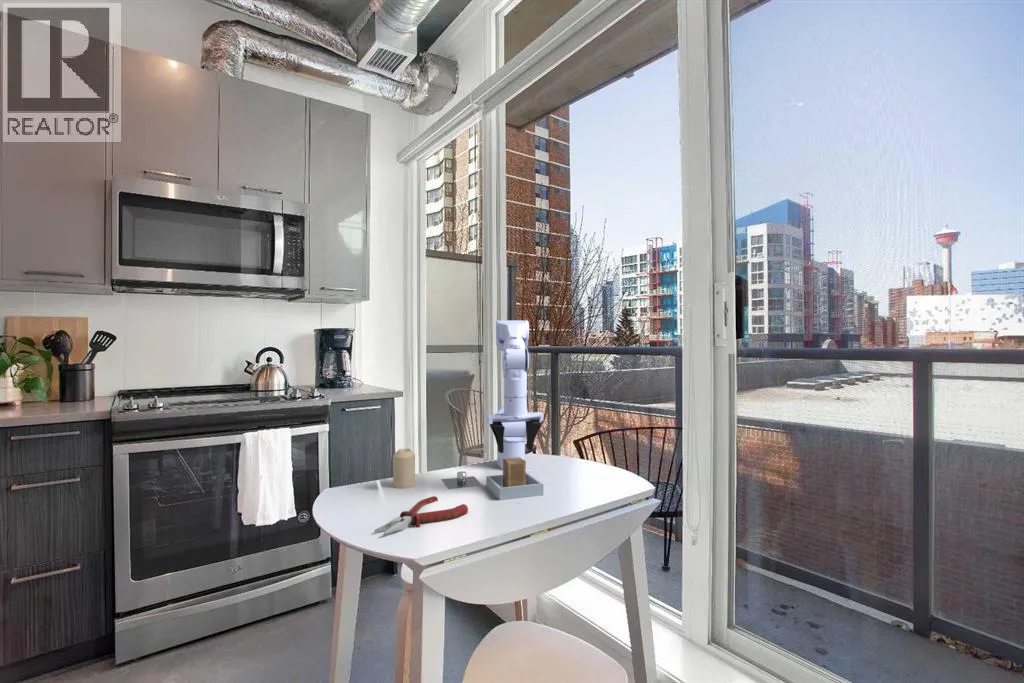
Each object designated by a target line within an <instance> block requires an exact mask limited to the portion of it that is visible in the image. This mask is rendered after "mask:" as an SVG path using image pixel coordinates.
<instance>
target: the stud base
mask: <svg viewBox="0 0 1024 683" xmlns="http://www.w3.org/2000/svg"><path fill="white" fill-rule="evenodd" d="M441 481H442V482H443V484H444V486H445V487H446V488H447V489H448V490H451V489H452V490H454V489H464V488H473V487H482V486H484V485H483V484H482V483H481V482H480V480H478V479H477V478H476V477H475V476H474V475H472V476H467V472H466V471H457V472H456V477H454V478H453V477H451V478H450V477H449V478H442V479H441Z"/></svg>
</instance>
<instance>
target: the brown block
mask: <svg viewBox="0 0 1024 683" xmlns="http://www.w3.org/2000/svg"><path fill="white" fill-rule="evenodd" d="M526 462H527V461H526V459H525V460H523V459H522V458H520V457H515V458H503V470H502V475H503V486H502V488H503V487H512V486H522V485H527V484H526V472H527V471H526V468H527V467H526V466H527V464H526Z"/></svg>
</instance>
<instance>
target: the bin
mask: <svg viewBox="0 0 1024 683" xmlns="http://www.w3.org/2000/svg"><path fill="white" fill-rule="evenodd" d="M485 481H486V488H487V490H489V491H490V492H491V494H493V496H495V497H496V499H498V500H499V501H505V500H506V501H507V500H514V499H516V500H517V499H524V498H533V497H539V496H540V497H541V496H544V483H543V482H541V481H540V480H539V479H537V478H535V477H534V476H533V475H531V474H530V473H529V472H527V471H526V485H522V486H512V487H503V474H495V475H487V476H486V480H485Z"/></svg>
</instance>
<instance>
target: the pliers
mask: <svg viewBox="0 0 1024 683" xmlns="http://www.w3.org/2000/svg"><path fill="white" fill-rule="evenodd" d="M438 501H439V498H438V497H437V496H436V495H435V496H434V495H433V496H430V497H427V498H424V499H420V500H419V501H417V503H416V504H415V505H413V507H412V508H410V510H409V511H407V510H404V511H402V512H401V513H400V514H399V517H397V518H394V519H393V520H391V521H389V522H387V523H385V524H384V525H382V526H380V527H378V528H376V529H374V532H375V533H376V532H383V535H384V536H385V535H387V534H391V533H392V534H393V533H396V532H400V531H403V530H406V529H408V528H409V527H412V526H413V527H414V526H415V525H416V526H415V527H417V528H421V525H428V524H434V523H441V522H446V521H451V520H455V519H458V518H461V517H463V516H465V515H467V514H468V513H469V508H468V506H467V504H465V503H462V504H460V505H457V506H455V507H452V508H448V509H441V510H432V511H427V512H419V511H420V510H421V509H422V508H423V507H424V506H427V505H429V504H433V503H435V502H438ZM420 524H421V525H420Z"/></svg>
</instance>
